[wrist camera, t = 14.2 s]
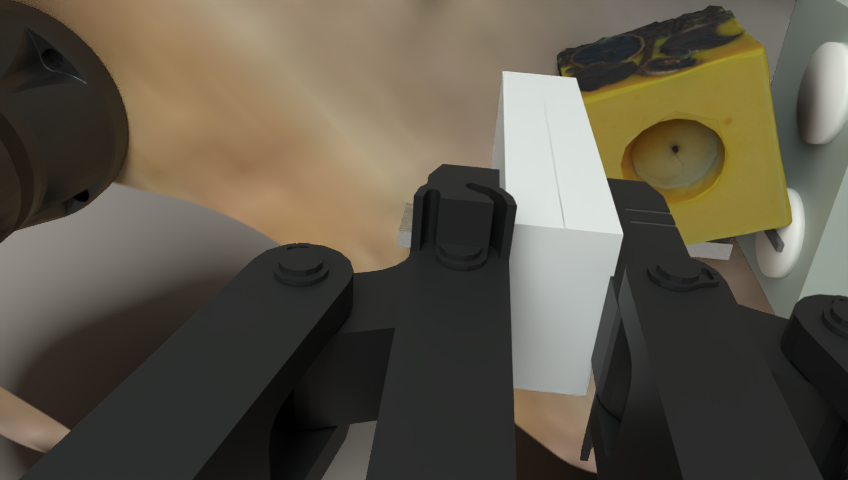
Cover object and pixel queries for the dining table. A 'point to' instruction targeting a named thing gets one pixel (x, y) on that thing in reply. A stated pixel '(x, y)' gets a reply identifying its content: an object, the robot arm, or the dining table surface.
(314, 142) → the dining table surface
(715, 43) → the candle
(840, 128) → the gauge cabinet
